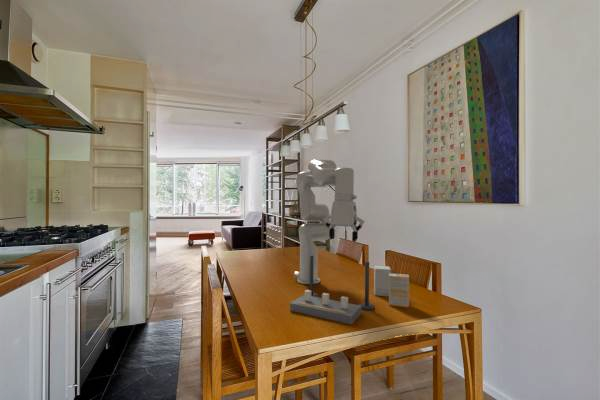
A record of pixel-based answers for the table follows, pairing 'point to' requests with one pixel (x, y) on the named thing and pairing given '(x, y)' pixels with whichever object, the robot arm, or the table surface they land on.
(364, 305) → the cord posts
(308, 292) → the paddle left
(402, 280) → the supplement box
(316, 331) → the table surface
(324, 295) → the paddle mid
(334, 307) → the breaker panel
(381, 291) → the supplement box
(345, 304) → the paddle right
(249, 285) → the table surface
